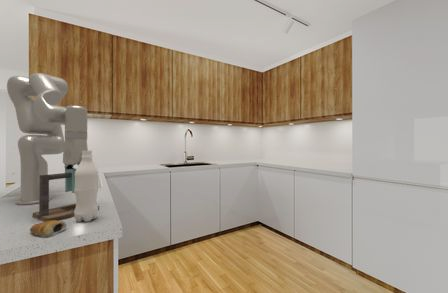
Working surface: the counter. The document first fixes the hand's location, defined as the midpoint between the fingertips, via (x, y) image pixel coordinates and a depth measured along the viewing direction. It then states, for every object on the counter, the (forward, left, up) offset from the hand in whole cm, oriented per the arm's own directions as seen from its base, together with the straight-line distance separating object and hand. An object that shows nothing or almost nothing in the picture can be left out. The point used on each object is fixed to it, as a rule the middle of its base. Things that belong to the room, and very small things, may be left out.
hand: (76, 178), depth 84 cm
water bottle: (+14, -3, -14) cm, 20 cm away
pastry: (+15, -15, -14) cm, 26 cm away
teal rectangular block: (0, 0, -5) cm, 5 cm away
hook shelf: (0, -3, -13) cm, 14 cm away
